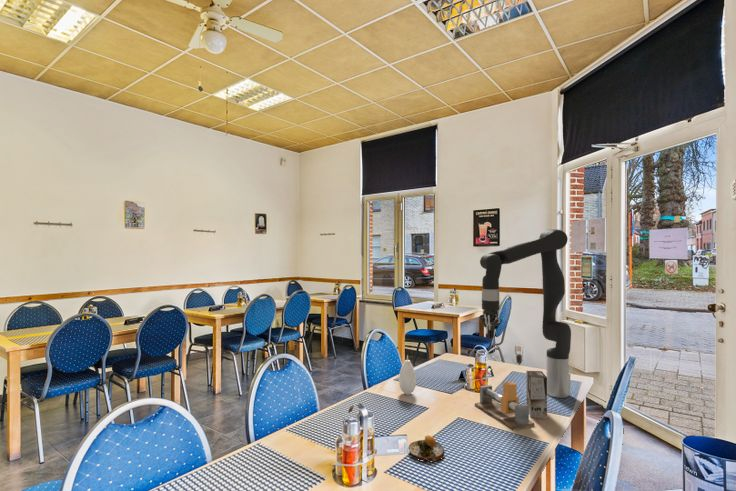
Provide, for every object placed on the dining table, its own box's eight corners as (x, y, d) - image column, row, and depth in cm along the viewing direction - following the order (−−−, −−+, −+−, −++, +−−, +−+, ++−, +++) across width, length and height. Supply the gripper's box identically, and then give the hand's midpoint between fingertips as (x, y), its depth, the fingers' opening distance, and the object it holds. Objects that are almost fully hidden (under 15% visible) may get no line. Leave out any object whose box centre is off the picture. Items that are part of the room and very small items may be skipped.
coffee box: (547, 418, 160) (547, 377, 160) (530, 417, 162) (530, 376, 162) (542, 409, 169) (542, 370, 169) (526, 408, 171) (526, 369, 171)
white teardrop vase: (416, 397, 183) (416, 357, 183) (399, 397, 183) (399, 357, 183) (415, 391, 191) (415, 352, 191) (398, 390, 191) (398, 352, 191)
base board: (474, 405, 174) (474, 403, 174) (494, 402, 177) (494, 400, 177) (512, 429, 151) (512, 426, 151) (534, 425, 154) (534, 422, 154)
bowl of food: (420, 441, 143) (420, 420, 143) (451, 452, 135) (451, 430, 135) (401, 455, 133) (401, 432, 133) (432, 467, 126) (432, 443, 126)
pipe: (479, 402, 174) (479, 386, 174) (489, 401, 176) (489, 384, 176) (517, 425, 152) (517, 407, 152) (528, 423, 154) (528, 405, 154)
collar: (500, 411, 160) (501, 383, 160) (513, 409, 162) (513, 381, 162) (506, 414, 158) (506, 385, 158) (518, 412, 160) (518, 383, 160)
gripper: (507, 300, 176) (507, 340, 176) (488, 296, 188) (488, 334, 188) (492, 301, 173) (492, 342, 174) (474, 297, 186) (474, 335, 186)
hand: (490, 338), depth 181 cm, fingers closed
